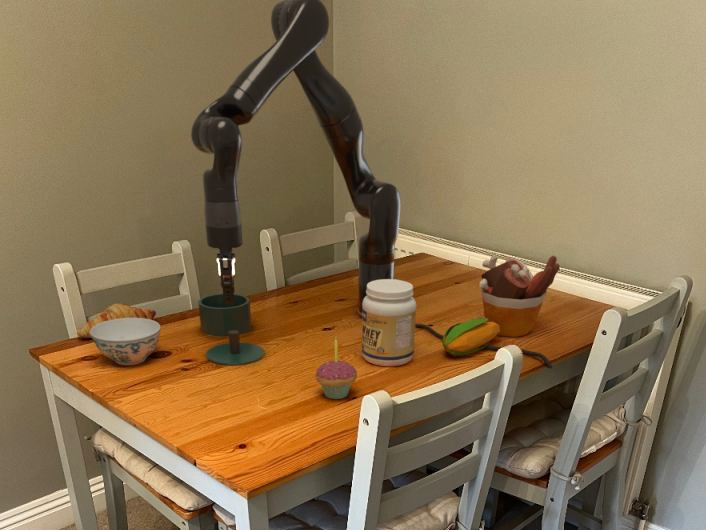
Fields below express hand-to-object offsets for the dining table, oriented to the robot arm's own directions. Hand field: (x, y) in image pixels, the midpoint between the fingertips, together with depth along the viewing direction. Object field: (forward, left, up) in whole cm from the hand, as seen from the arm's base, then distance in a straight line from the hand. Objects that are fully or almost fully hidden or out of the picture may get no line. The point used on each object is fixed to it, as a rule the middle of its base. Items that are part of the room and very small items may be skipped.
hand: (229, 298), depth 166 cm
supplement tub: (-32, -17, -14) cm, 38 cm away
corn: (-47, -32, -14) cm, 58 cm away
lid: (-1, 0, -13) cm, 13 cm away
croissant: (+35, 0, -14) cm, 38 cm away
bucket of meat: (-51, -50, -14) cm, 72 cm away
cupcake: (-32, +7, -14) cm, 35 cm away
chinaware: (+18, +14, -14) cm, 27 cm away
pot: (+12, -14, -14) cm, 23 cm away
